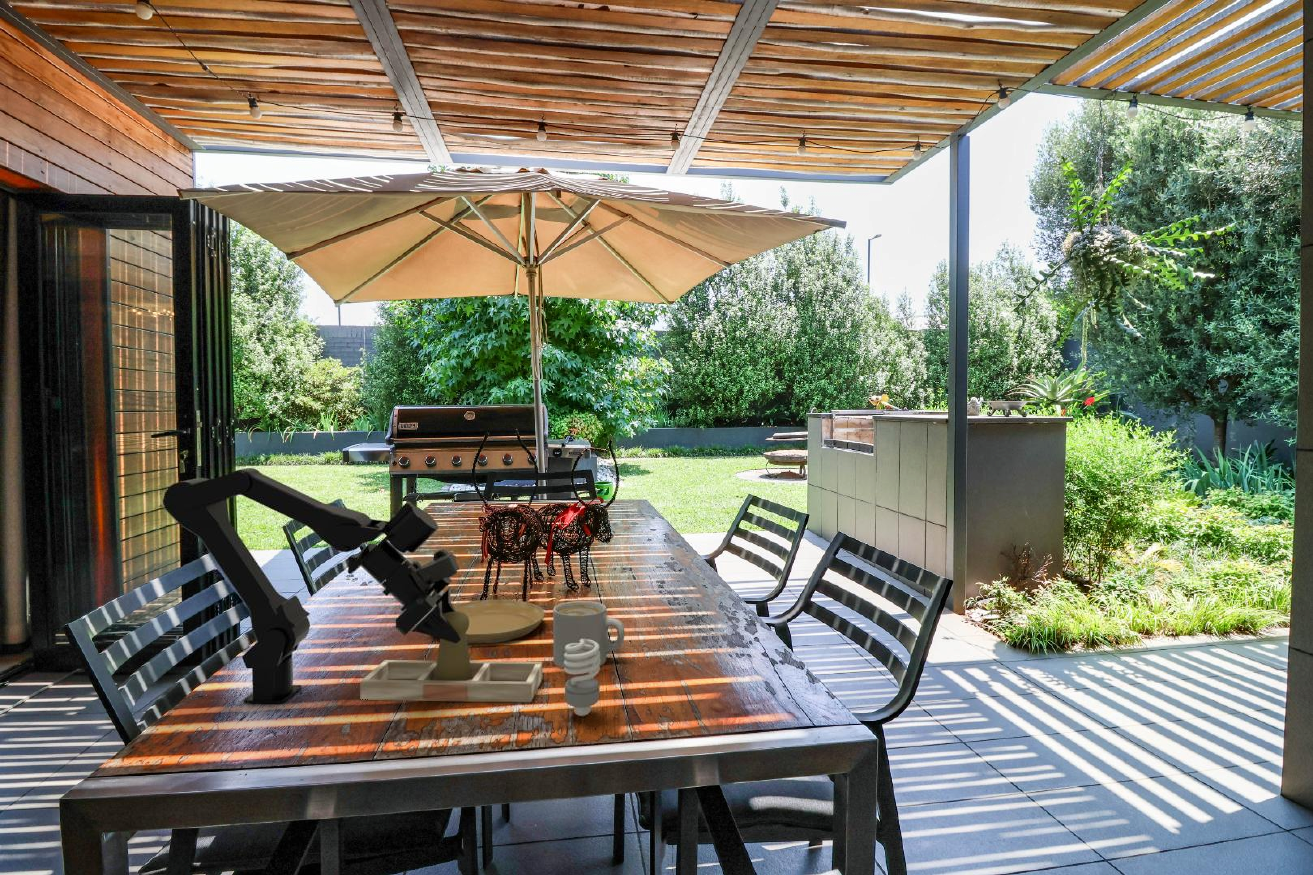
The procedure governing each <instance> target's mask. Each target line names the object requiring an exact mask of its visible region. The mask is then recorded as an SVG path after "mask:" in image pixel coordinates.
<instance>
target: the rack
mask: <svg viewBox="0 0 1313 875" xmlns="http://www.w3.org/2000/svg"><path fill="white" fill-rule="evenodd" d="M436 666H437V660H410V659H407V660H405V659H403V660H401V659H396V660H395V659H384V660H383V661H381V663H380V664H378V666H376V667H375V668H374V669H373V670H371V671H370V673H368V674H367V675H366V676H365V677H363V679H361V680H360V682H359V691H360V692H359V694H360V698H359V700H360V699H361V700H362V699H363V700H362V701H410V702H411V701H415V702H417V701H418V702H419V701H420V702H425V701H426V702H478V703H479V702H482V703H483V702H484V703H485V702H490V703H491V702H493V703H495V702H496V703H532V701H533V699H534V698H535V695H536V693H537V691H538V689H539V687H540V685H541V683H542V681H543V661H485V660H484V661H483V660H481V661H480V660H477V661H476V660H470V666H471V674H472V676H471V678H470V679H469V680H467V681H442V680H435V673H436ZM365 699H366V700H365ZM367 699H368V700H367ZM361 700H360V701H361Z"/></svg>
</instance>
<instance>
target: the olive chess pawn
mask: <svg viewBox="0 0 1313 875" xmlns="http://www.w3.org/2000/svg"><path fill="white" fill-rule="evenodd" d="M443 615H444V616H445V618H446V619H447V620H448V622H449V623H450V624H451V625H452V627H453V628H454V629H455V630H456V632H457V633H458V635H459V636H460V637H461V640H460V641H459V642H458V643H453V642H450V641H447V640H444V639H440V638H439V646H438V652H437V659H436V661H437V666H436V673H435V680H442V681H467V680H469V679H470V678H471V676H472V674H471V666H470V661H471V660H470V653H469V646H468V645H469V644H467V637H466V631H467V630H468V627H469V618H468V616H467V615H466V614H465V613H463V612H448V613H445V614H443Z"/></svg>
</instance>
